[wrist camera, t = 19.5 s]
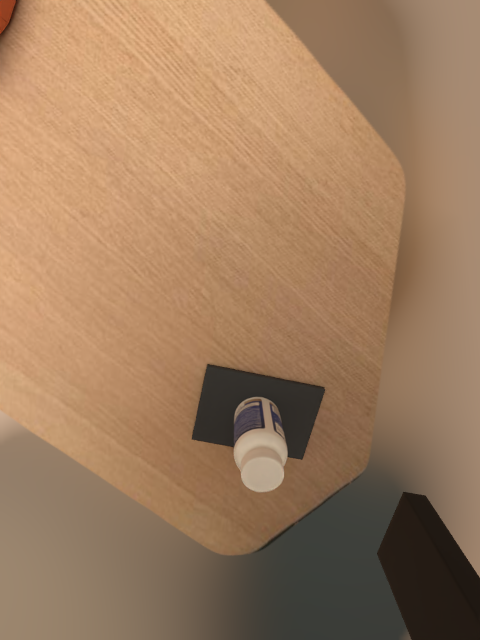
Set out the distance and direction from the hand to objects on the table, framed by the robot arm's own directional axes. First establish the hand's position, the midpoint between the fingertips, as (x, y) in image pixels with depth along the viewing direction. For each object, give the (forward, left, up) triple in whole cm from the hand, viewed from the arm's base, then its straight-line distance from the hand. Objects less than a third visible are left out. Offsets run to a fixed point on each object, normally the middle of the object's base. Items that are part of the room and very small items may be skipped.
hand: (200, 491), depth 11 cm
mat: (-6, +13, -27) cm, 30 cm away
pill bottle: (-6, +13, -26) cm, 30 cm away
